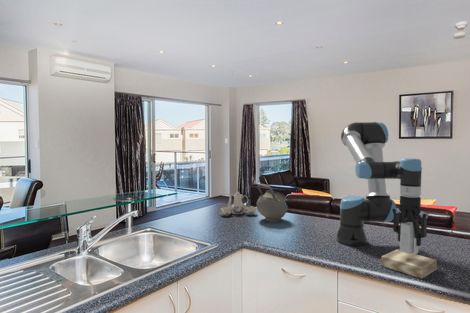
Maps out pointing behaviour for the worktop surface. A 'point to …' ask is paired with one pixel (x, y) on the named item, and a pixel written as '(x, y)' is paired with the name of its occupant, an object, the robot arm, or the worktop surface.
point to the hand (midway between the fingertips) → (409, 251)
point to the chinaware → (238, 206)
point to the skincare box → (407, 237)
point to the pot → (271, 204)
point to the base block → (409, 263)
